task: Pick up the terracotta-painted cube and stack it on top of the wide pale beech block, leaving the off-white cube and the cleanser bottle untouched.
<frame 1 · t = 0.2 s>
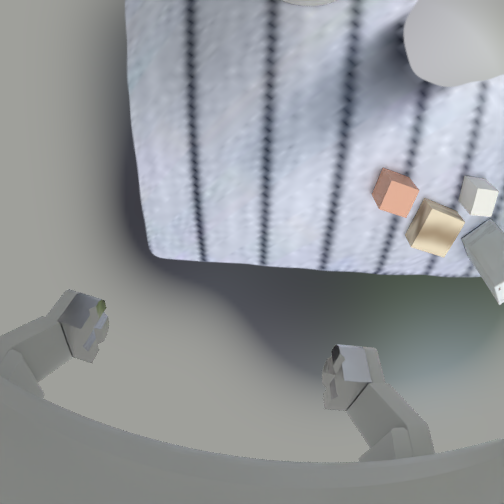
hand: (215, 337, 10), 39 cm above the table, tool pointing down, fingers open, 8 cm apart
terracotta cube: (390, 185, 46), on the table
skincare box: (479, 235, 49), on the table
beech base: (430, 222, 49), on the table
offwhite cube: (471, 189, 43), on the table
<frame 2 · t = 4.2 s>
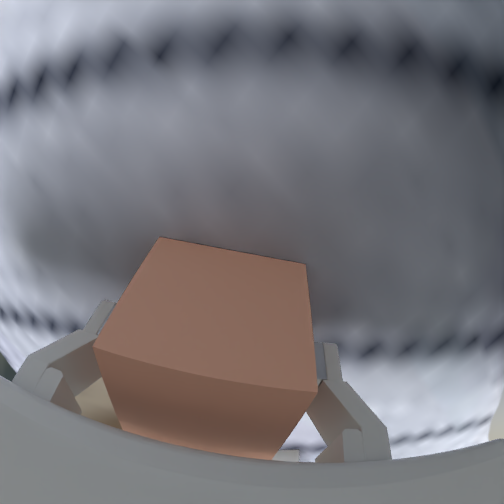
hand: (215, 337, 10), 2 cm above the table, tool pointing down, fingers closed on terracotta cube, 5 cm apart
terracotta cube: (222, 306, 12), on the table, touching gripper
beech base: (146, 409, 17), on the table
when the fingers open (7 cm above the table, at t = 8.9 s): terracotta cube drops 1 cm, point 4 cm above the table.
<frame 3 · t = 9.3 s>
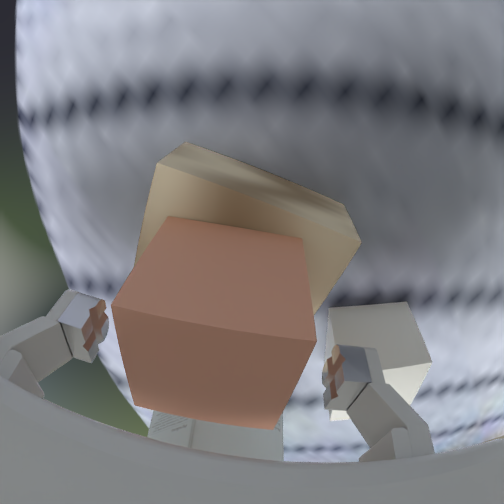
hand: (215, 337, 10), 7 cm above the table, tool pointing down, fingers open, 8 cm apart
terracotta cube: (226, 281, 12), point 4 cm above the table
skincare box: (226, 384, 23), on the table
beech base: (237, 239, 16), on the table
offwhite cube: (363, 332, 19), on the table
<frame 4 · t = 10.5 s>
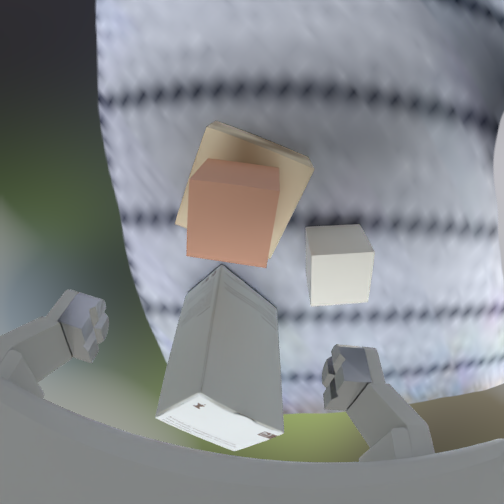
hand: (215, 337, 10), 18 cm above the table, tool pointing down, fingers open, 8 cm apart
terracotta cube: (239, 195, 22), point 4 cm above the table, touching beech base
skincare box: (234, 300, 32), on the table
beech base: (244, 180, 26), on the table, touching terracotta cube
offwhite cube: (332, 249, 28), on the table
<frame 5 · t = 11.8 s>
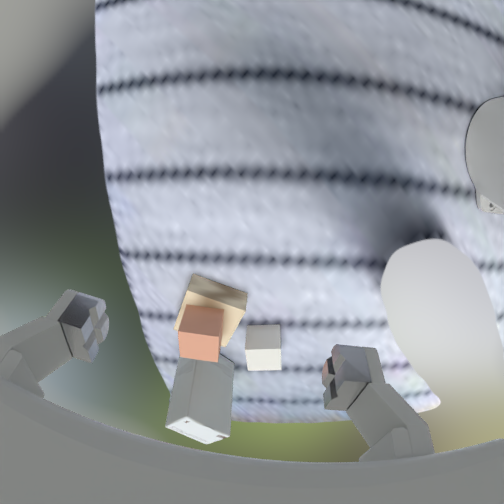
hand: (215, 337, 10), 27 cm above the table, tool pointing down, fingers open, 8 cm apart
terracotta cube: (204, 320, 41), point 4 cm above the table, touching beech base
skincare box: (209, 357, 51), on the table
beech base: (211, 302, 45), on the table, touching terracotta cube
offwhite cube: (264, 335, 47), on the table
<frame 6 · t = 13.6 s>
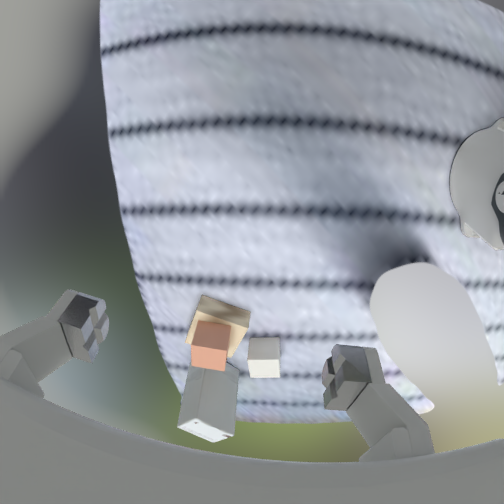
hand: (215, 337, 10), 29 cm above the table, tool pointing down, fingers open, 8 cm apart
terracotta cube: (213, 334, 46), point 4 cm above the table, touching beech base
skincare box: (216, 365, 57), on the table
beech base: (218, 318, 50), on the table, touching terracotta cube
offwhite cube: (265, 346, 52), on the table
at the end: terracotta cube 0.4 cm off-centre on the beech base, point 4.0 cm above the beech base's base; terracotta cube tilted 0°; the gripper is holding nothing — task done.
